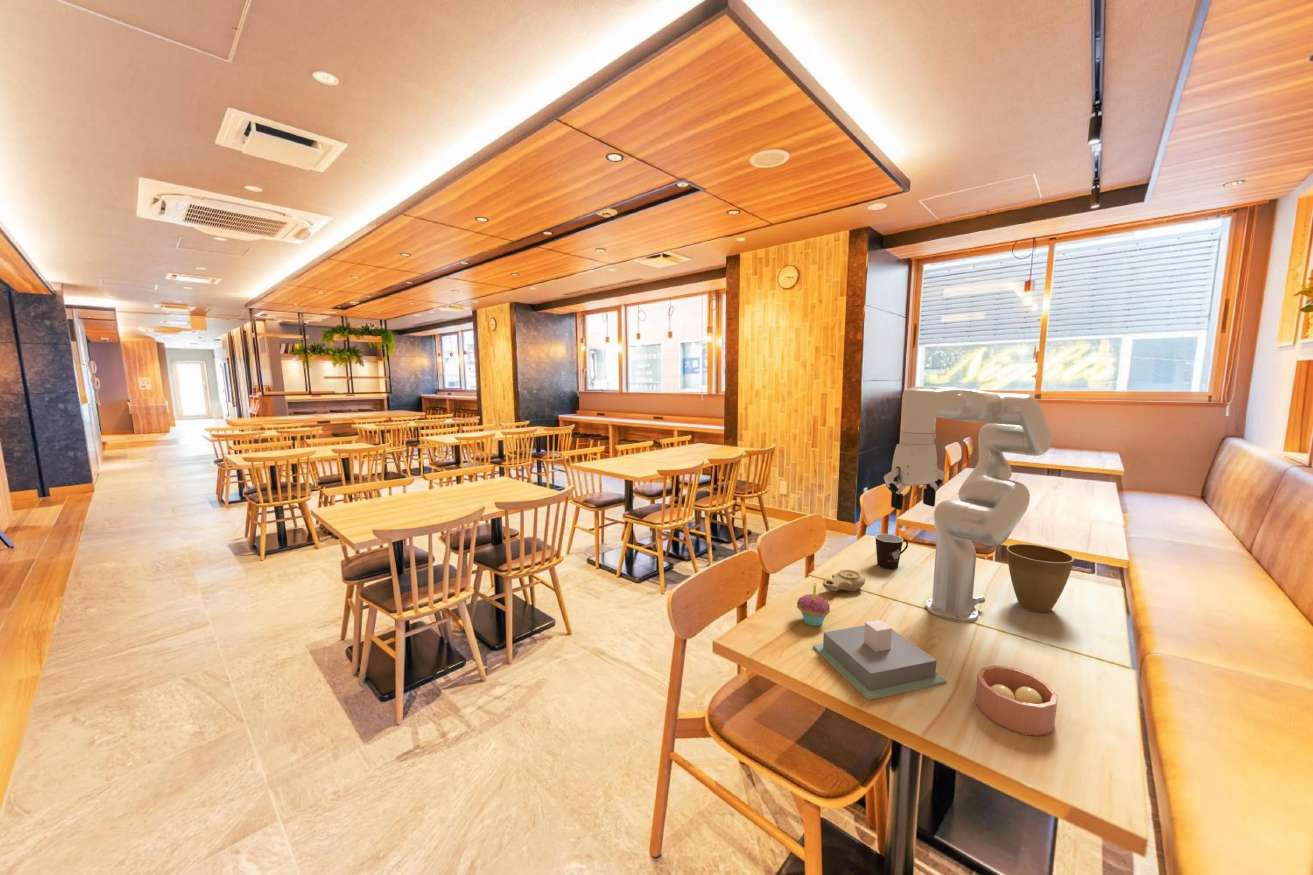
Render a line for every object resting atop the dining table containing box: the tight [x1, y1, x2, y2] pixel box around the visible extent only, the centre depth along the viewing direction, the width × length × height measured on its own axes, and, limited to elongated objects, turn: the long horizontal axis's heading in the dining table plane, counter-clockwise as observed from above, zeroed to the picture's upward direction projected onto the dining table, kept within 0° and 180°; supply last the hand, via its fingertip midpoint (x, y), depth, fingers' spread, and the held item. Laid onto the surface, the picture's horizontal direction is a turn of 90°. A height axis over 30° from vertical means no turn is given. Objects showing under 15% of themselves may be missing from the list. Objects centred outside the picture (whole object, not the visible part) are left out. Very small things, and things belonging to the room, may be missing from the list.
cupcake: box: [796, 584, 831, 627], centre depth 131 cm, size 9×8×12 cm
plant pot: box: [1006, 543, 1075, 613], centre depth 138 cm, size 15×15×16 cm
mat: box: [812, 643, 948, 701], centre depth 113 cm, size 20×20×1 cm
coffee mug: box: [874, 533, 909, 571], centre depth 167 cm, size 12×9×10 cm
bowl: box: [974, 664, 1059, 737], centre depth 96 cm, size 12×12×6 cm
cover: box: [822, 619, 938, 691], centre depth 112 cm, size 17×17×9 cm
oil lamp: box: [822, 569, 866, 592], centre depth 150 cm, size 11×14×5 cm
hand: (912, 506), depth 122 cm, fingers open, 9 cm apart
